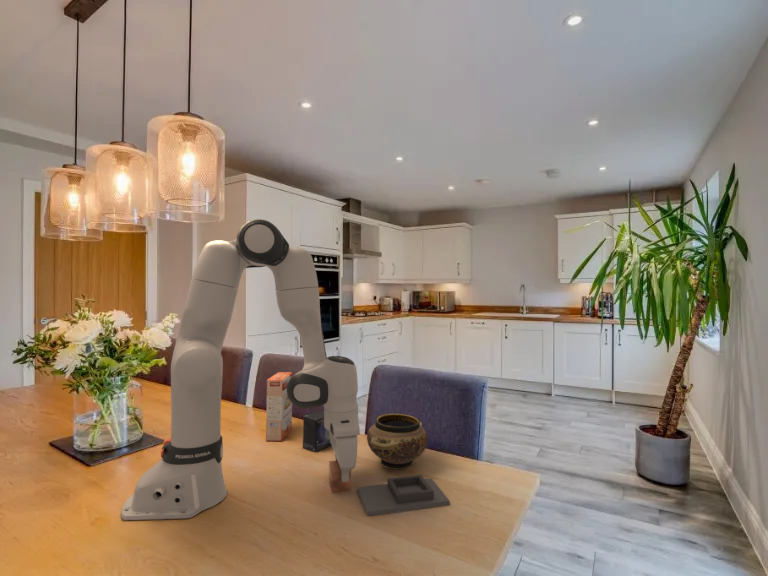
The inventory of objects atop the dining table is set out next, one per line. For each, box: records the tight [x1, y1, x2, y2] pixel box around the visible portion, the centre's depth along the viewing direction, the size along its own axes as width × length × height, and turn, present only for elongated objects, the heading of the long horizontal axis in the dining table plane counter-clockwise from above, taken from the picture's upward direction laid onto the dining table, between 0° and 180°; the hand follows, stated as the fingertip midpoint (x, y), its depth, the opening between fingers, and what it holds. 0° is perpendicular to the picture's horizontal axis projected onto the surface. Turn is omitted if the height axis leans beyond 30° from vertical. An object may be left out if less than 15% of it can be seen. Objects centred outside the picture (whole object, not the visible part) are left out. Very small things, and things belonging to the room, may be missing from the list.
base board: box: [357, 474, 451, 517], centre depth 101 cm, size 20×12×3 cm, turn 104°
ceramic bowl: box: [366, 412, 429, 470], centre depth 121 cm, size 24×18×15 cm
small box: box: [302, 409, 332, 453], centre depth 135 cm, size 11×6×10 cm, turn 143°
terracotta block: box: [328, 460, 352, 494], centre depth 106 cm, size 5×5×6 cm
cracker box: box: [265, 371, 294, 442], centre depth 145 cm, size 14×6×21 cm, turn 179°
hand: (341, 472), depth 107 cm, fingers open, 8 cm apart
